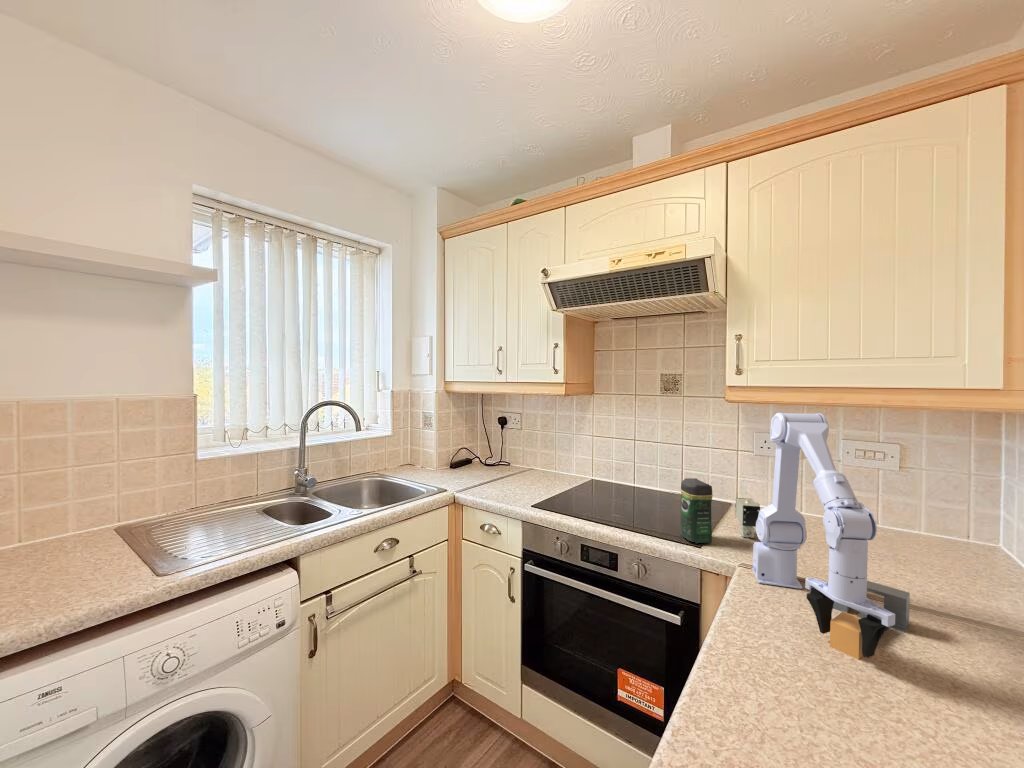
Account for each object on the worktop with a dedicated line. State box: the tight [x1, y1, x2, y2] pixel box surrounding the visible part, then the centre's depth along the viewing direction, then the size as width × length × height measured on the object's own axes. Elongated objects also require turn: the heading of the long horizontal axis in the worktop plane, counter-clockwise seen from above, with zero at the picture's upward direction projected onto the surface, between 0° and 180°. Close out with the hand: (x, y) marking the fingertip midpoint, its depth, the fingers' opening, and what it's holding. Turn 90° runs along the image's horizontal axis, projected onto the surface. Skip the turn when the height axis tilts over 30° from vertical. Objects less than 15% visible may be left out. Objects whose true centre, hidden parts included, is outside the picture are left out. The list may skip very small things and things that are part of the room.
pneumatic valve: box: [734, 497, 761, 539], centre depth 139 cm, size 6×12×12 cm, turn 167°
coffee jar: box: [679, 477, 713, 544], centre depth 137 cm, size 10×8×19 cm
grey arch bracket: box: [833, 580, 911, 633], centre depth 94 cm, size 4×13×7 cm, turn 41°
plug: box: [829, 611, 867, 660], centre depth 86 cm, size 16×4×5 cm, turn 124°
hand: (845, 643), depth 83 cm, fingers open, 7 cm apart
